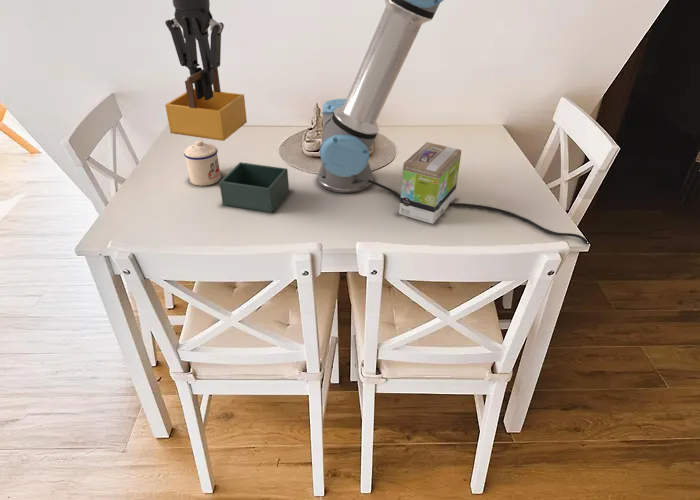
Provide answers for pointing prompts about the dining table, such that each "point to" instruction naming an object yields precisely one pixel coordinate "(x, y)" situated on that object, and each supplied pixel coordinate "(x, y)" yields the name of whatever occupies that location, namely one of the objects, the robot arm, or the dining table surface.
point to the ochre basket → (206, 112)
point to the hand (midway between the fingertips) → (205, 97)
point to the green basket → (254, 187)
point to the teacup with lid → (202, 163)
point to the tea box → (429, 182)
